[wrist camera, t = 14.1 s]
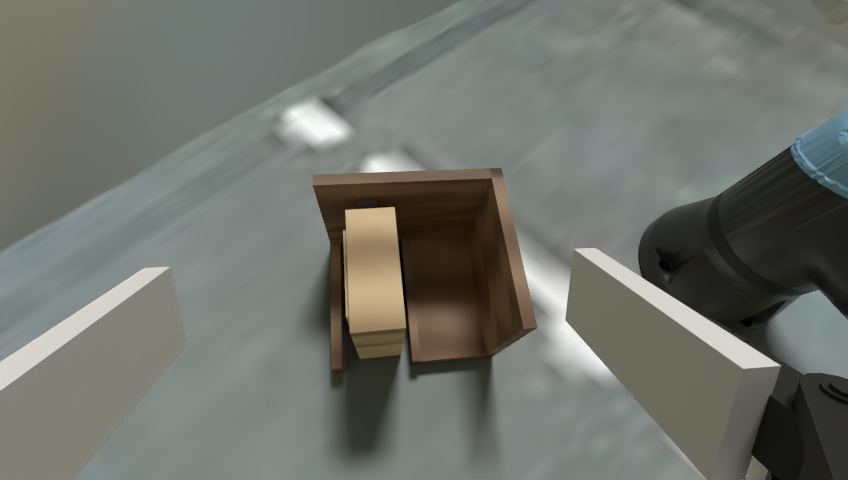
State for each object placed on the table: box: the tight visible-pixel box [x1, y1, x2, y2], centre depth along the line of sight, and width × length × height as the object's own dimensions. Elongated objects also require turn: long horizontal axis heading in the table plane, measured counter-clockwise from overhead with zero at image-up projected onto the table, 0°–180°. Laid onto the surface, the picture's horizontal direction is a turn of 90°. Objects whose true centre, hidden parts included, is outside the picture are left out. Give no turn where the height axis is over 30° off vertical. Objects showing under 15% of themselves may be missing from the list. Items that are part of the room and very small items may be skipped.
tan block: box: [343, 207, 406, 359], centre depth 35 cm, size 10×4×12 cm, turn 7°
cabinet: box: [313, 168, 537, 372], centre depth 35 cm, size 14×16×13 cm
